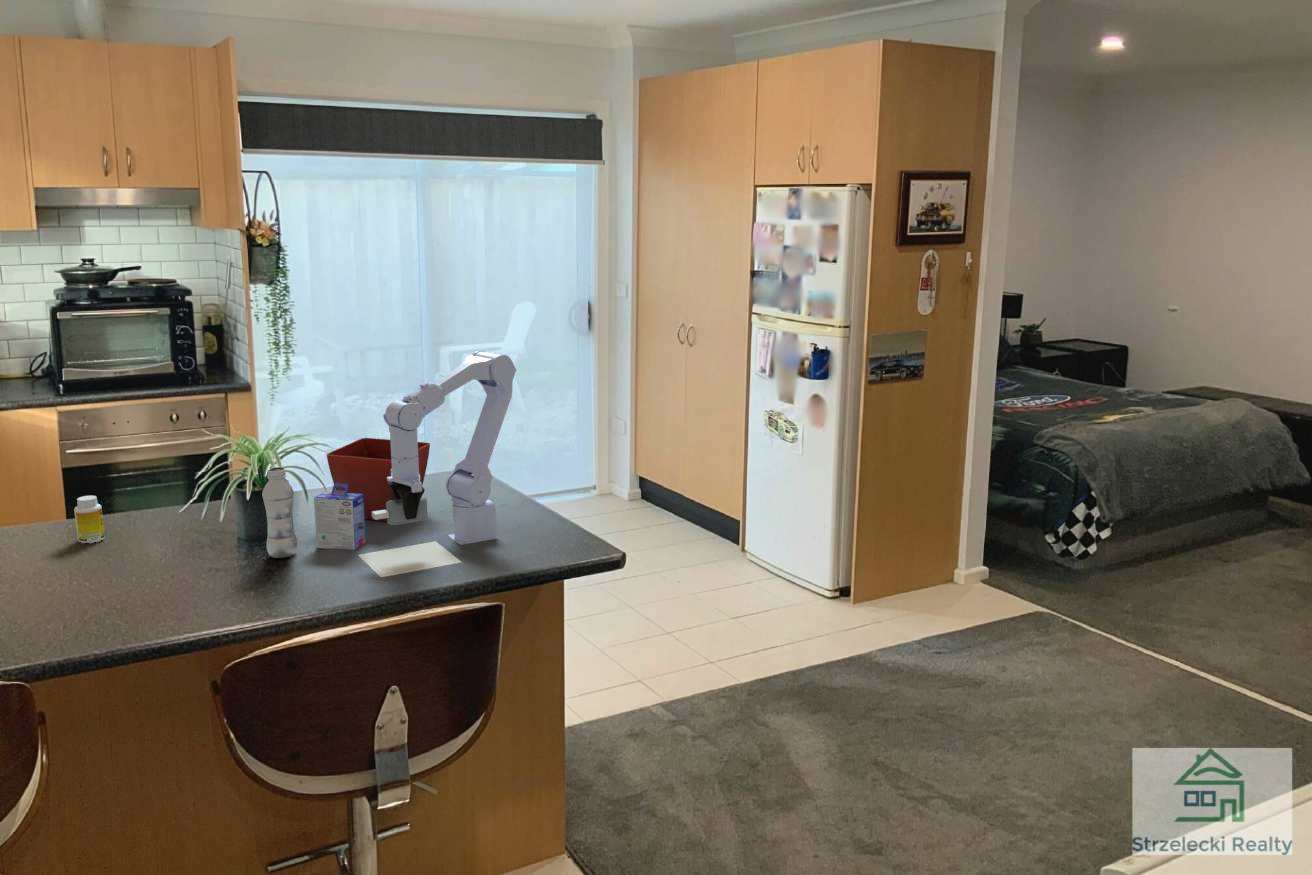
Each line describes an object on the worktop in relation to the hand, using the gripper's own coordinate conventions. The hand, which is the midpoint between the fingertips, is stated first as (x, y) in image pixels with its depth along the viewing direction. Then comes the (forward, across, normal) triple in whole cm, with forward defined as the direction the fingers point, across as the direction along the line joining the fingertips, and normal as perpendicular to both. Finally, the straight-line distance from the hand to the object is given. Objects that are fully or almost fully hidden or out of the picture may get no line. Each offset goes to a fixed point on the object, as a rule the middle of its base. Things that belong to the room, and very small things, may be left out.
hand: (407, 515), depth 233 cm
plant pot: (+10, -34, +5) cm, 36 cm away
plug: (+1, 0, -1) cm, 2 cm away
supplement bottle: (+10, -47, -59) cm, 76 cm away
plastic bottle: (+10, -14, -24) cm, 29 cm away
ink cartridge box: (+10, -14, -11) cm, 20 cm away
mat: (+9, +3, -1) cm, 10 cm away
